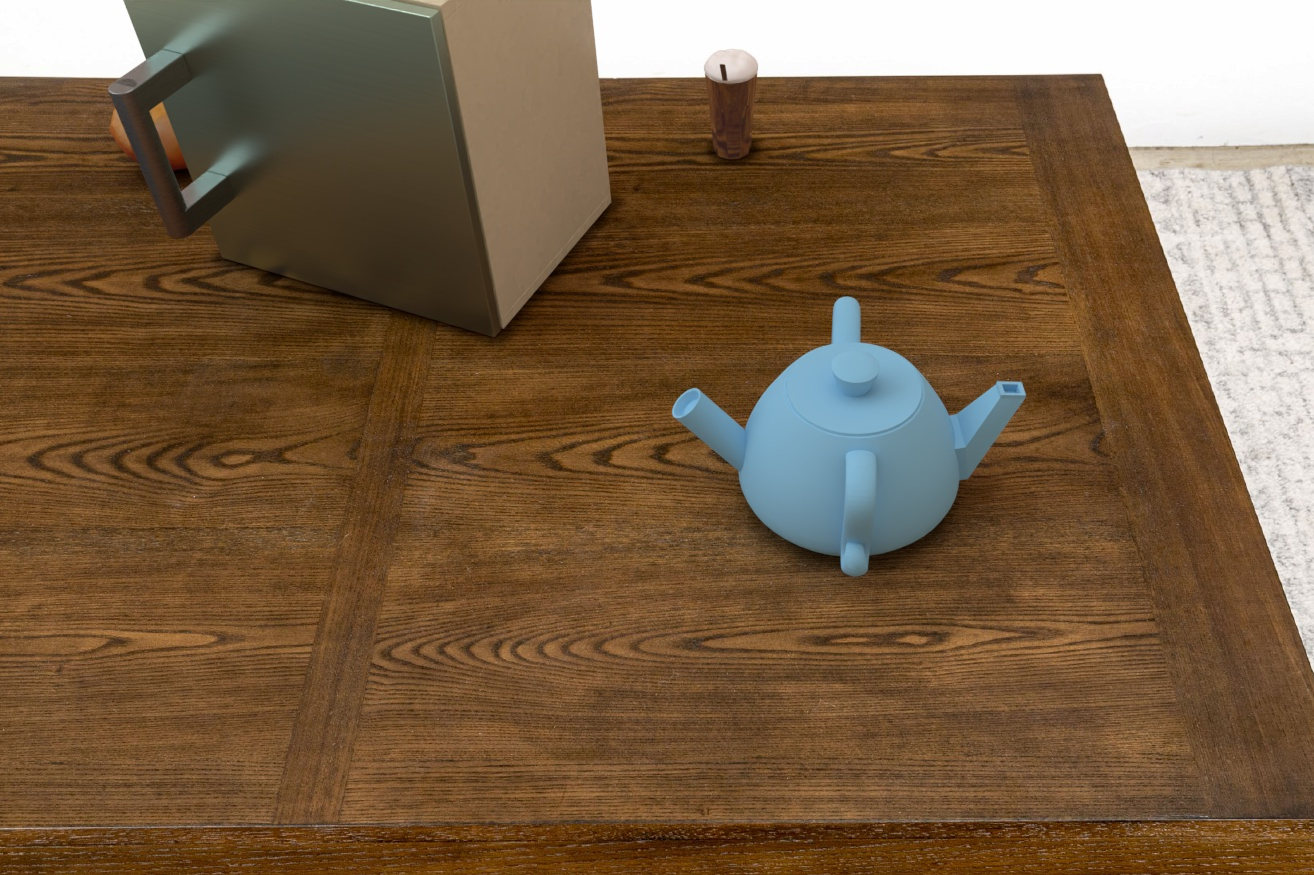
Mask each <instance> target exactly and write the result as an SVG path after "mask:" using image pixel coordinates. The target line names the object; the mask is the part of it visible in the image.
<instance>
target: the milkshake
mask: <svg viewBox="0 0 1314 875" xmlns="http://www.w3.org/2000/svg"><path fill="white" fill-rule="evenodd" d="M758 71H759V63H758V61H757V59H756V57H754V56H753V55H752V54H750V52H747V51H746V50H744V49H740V48H728V49H719V50H717V51H715V52H713V53H712V54H711V55H710V56H709V57H708V58H707V59H706V61H705V62H704V64H703V72H704V77H705V78H704V79H705V85H706V92H707V98H708V108H709V109H708V110H709V117H710V118H709V119H710V127H711V128H710V129H711V135H712V147H713V151H714V152H715V154H716V155H717V157H719V158H721V159H726V160H740V159H743V158H744V157H746V156H749V153H750V150H751V148H752V138H753V125H754V124H753V123H754V112H755V100H756V90H757V81H758V80H757V79H758Z"/></svg>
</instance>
